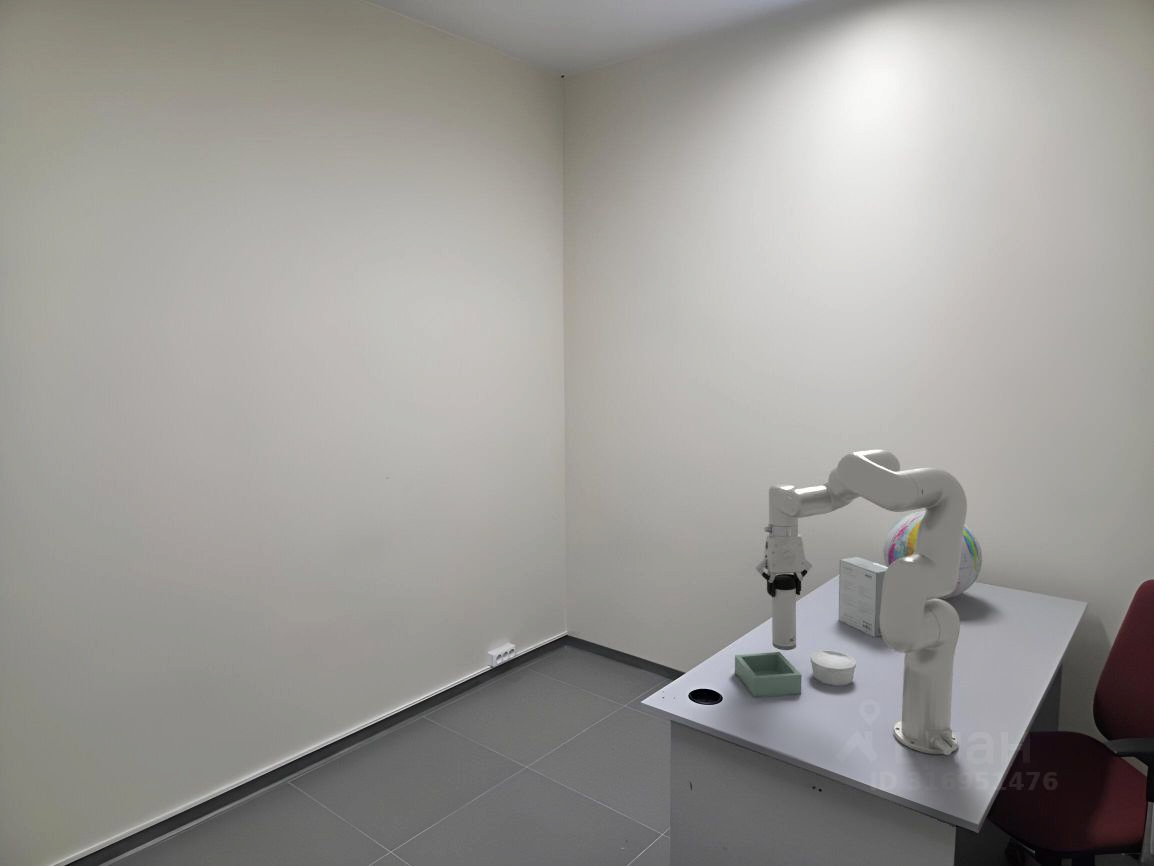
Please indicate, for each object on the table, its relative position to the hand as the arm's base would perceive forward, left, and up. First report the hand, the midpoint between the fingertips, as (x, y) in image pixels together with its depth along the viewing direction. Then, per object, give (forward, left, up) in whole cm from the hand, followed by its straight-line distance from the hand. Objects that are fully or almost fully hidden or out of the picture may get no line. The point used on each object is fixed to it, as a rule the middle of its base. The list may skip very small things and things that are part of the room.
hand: (784, 594), depth 189 cm
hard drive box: (+19, -35, -20) cm, 44 cm away
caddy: (-11, +9, -19) cm, 24 cm away
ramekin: (-11, -9, -20) cm, 24 cm away
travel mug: (-1, 0, -15) cm, 15 cm away
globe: (+39, -70, -20) cm, 82 cm away
